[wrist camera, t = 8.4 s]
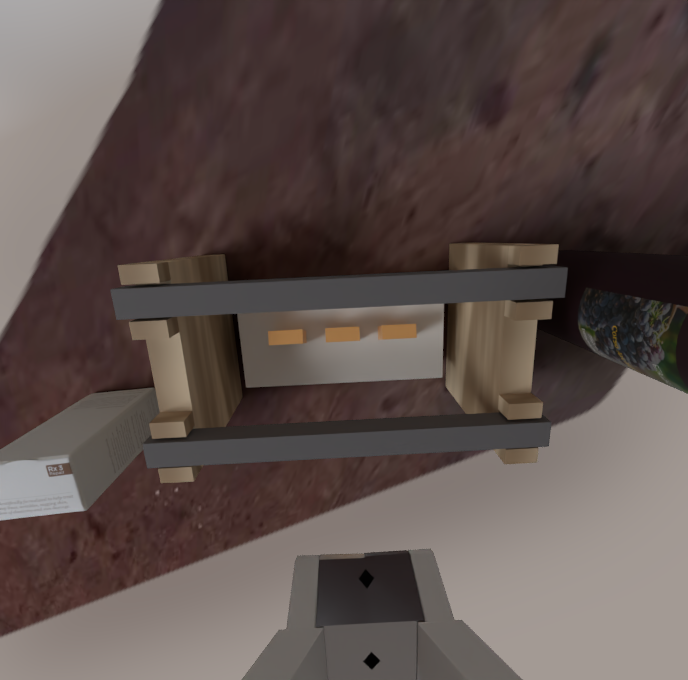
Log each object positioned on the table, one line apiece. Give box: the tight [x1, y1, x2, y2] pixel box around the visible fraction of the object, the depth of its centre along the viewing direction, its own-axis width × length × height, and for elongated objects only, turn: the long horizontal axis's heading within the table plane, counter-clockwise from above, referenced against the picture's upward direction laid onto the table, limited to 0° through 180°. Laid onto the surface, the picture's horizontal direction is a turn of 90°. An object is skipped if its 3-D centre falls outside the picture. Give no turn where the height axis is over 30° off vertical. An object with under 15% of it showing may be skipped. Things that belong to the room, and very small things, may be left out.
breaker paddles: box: [268, 324, 417, 345], centre depth 28 cm, size 10×1×3 cm, turn 93°
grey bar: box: [142, 412, 551, 468], centre depth 23 cm, size 24×2×2 cm, turn 93°
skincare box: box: [0, 388, 160, 520], centre depth 29 cm, size 6×4×12 cm
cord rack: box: [118, 243, 559, 483], centre depth 27 cm, size 23×13×13 cm, turn 93°
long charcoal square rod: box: [111, 265, 568, 320], centre depth 21 cm, size 24×2×2 cm, turn 93°
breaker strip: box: [237, 304, 444, 388], centre depth 31 cm, size 16×8×4 cm, turn 93°
